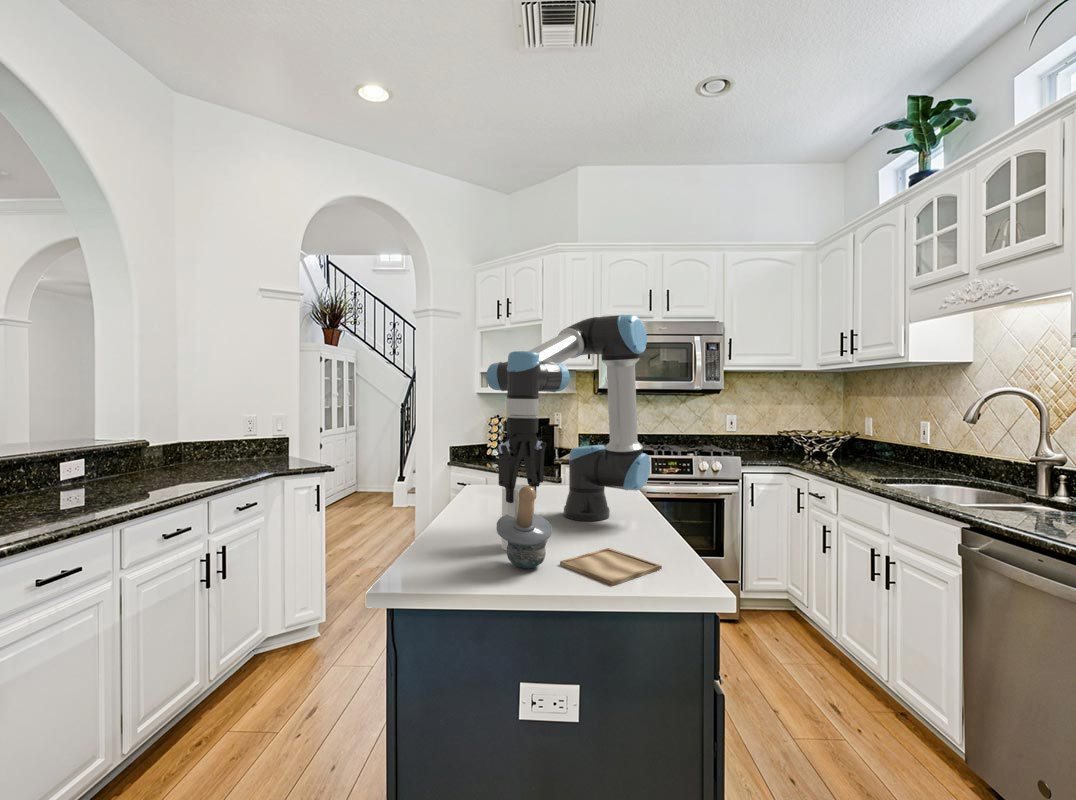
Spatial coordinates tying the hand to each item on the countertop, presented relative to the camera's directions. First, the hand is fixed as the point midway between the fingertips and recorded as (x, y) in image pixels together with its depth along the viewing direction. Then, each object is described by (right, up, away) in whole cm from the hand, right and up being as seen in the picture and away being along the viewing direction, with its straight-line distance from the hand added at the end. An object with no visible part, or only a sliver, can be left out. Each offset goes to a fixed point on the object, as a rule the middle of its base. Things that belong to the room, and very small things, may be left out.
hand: (521, 514), depth 129 cm
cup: (-2, -12, +15) cm, 19 cm away
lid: (+1, -3, -1) cm, 4 cm away
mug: (0, -12, +1) cm, 12 cm away
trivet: (+21, -13, 0) cm, 25 cm away
